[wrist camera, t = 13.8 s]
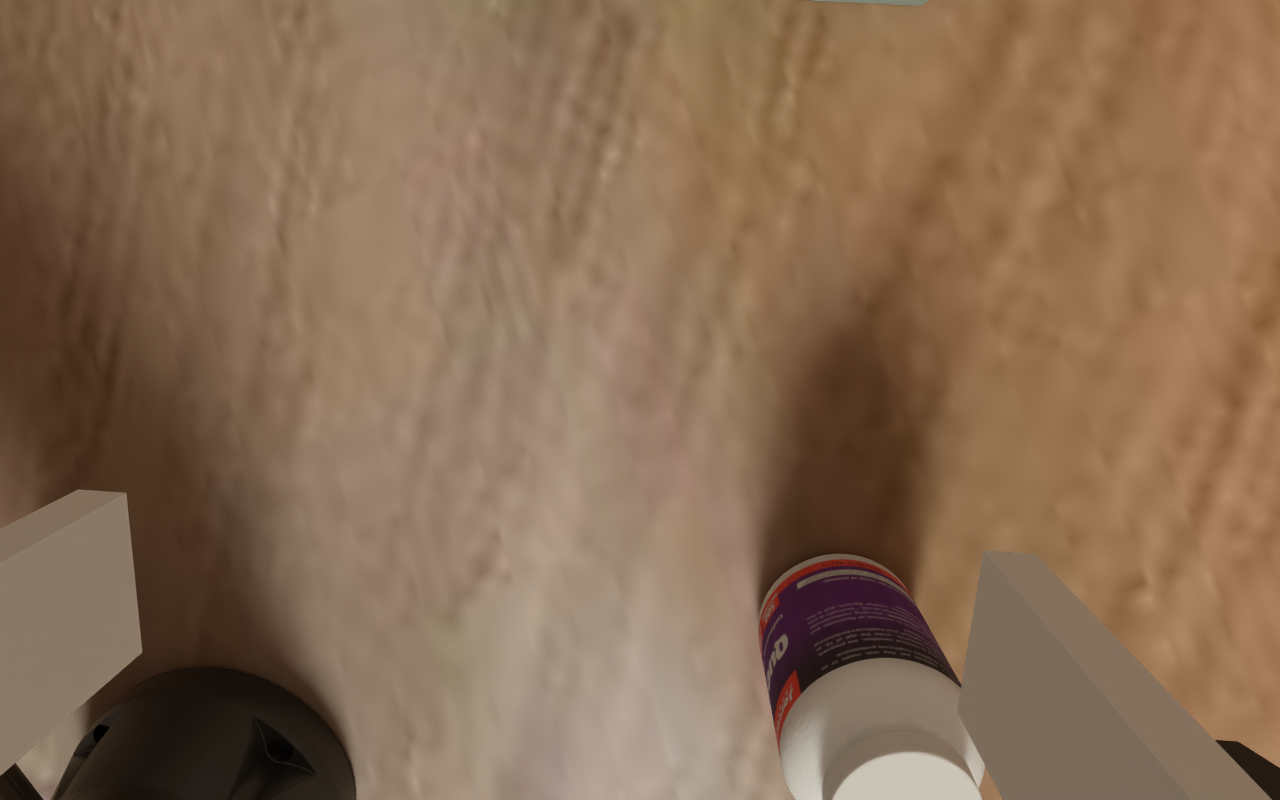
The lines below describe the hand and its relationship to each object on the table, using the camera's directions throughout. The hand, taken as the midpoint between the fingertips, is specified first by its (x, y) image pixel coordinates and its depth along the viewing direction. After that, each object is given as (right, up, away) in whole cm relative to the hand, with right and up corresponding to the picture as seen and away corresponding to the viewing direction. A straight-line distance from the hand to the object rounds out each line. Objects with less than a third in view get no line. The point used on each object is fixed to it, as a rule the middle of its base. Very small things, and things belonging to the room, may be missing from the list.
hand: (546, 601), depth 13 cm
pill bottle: (+11, -8, +31) cm, 34 cm away
